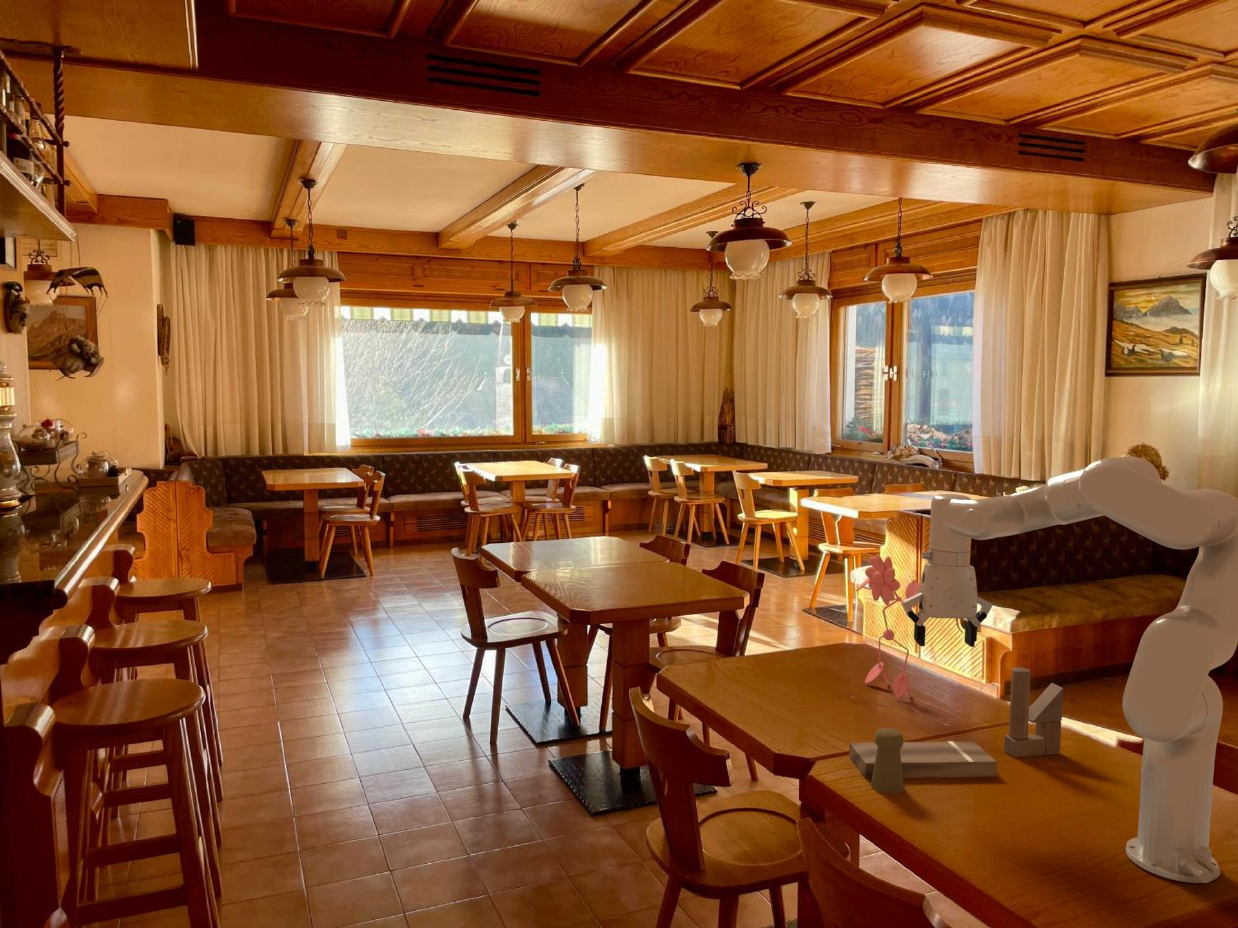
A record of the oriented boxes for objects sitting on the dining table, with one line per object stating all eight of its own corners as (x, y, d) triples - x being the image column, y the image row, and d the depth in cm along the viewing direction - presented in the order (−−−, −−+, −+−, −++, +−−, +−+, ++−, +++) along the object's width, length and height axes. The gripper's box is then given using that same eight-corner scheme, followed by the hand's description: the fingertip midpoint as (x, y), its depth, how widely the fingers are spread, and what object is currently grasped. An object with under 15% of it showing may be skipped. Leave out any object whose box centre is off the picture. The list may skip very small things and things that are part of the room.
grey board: (996, 776, 172) (996, 761, 172) (865, 778, 170) (865, 762, 170) (973, 755, 182) (973, 740, 182) (849, 756, 180) (849, 742, 180)
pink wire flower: (872, 674, 234) (874, 544, 231) (936, 707, 210) (939, 562, 206) (821, 680, 229) (823, 548, 226) (881, 715, 205) (883, 567, 202)
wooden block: (1060, 754, 183) (1064, 669, 181) (1014, 758, 181) (1018, 672, 179) (1048, 747, 186) (1052, 664, 185) (1003, 751, 184) (1007, 667, 183)
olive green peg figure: (867, 789, 166) (869, 732, 165) (874, 777, 171) (876, 722, 170) (900, 796, 163) (902, 739, 162) (906, 784, 168) (908, 728, 167)
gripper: (911, 561, 166) (907, 649, 168) (1002, 562, 167) (997, 651, 168) (898, 553, 174) (894, 638, 175) (985, 555, 174) (980, 639, 176)
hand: (944, 644), depth 172 cm, fingers open, 9 cm apart
